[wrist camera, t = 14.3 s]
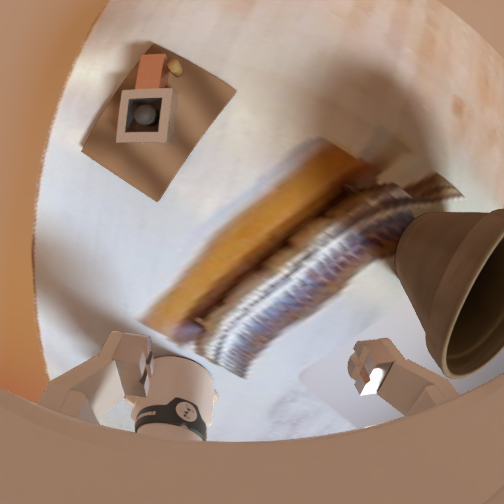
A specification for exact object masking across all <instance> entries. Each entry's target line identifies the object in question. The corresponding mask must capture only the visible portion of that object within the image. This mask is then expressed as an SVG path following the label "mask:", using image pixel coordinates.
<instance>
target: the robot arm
mask: <svg viewBox="0 0 504 504" xmlns="http://www.w3.org/2000/svg"><path fill="white" fill-rule="evenodd" d="M151 346H152V342H151V337H150V336H146V335H139V334H133V333H127V332H120V331H114V330H113V331H112V332H111V333H110V335H109V337H108V338H107V340H106V342H105V344H104V346H103V348H102V350H101V352H100V354H99V356H98V357H95V356H94V357H93V358H91V359H89V360H87V361H86V362H84V363H82V364H80V365H78V366H77V367H75V368H73V369H71V370H69V371H68V372H66V373H64V374H62V375H60V376H59V377H57V378H55V379H53V380H51V381H50V382H49V383H48V385H47V387H46V389H45V390H44V392H43V394H42V396H41V398H40V400H39V402H38V404H36V403H33V402H31V401H29V400H26V399H24V398H22V397H20V396H18V395H15V394H13V393H11V392H9V391H7V390H5V389H3V388H1V387H0V504H504V373H503V374H501V375H499V376H497V377H495V378H494V379H492V380H490V381H488V382H487V383H485V384H483V385H481V386H479V387H477V388H475V389H473V390H471V391H468V392H466V393H464V394H462V395H460V394H459V393H458V392H457V391H456V389H455V388H454V387H453V386H452V384H451V383H450V382H449V380H448V379H446V378H444V377H442V376H440V375H438V374H436V373H434V372H432V371H430V370H428V369H426V368H424V367H422V366H420V365H418V364H416V363H414V362H412V361H411V360H409V359H408V360H406V359H405V358H404V357H403V355H402V354H401V353H400V352H399V350H398V349H397V348H396V346H395V345H394V344H393V343H392V341H391V340H390V339H388V338H381V339H374V340H364V341H357V342H356V344H355V346H354V348H353V349H354V351H355V353H354V354H352V355H351V356H350V358H349V361H348V372H349V375H350V377H351V378H353V379H354V380H356V381H355V384H354V385H355V387H356V389H357V390H358V392H359V394H360V395H366V394H372V393H377V394H378V395H379V396H380V397H381V398H383V399H384V400H385V401H386V402H388V403H389V404H391V405H392V406H393V407H394V408H396V409H397V410H398V411H400V412H401V413H402V414H403V415H405V417H401V418H398V419H395V420H391V421H388V422H384V423H380V424H377V425H373V426H368V427H364V428H360V429H355V430H350V431H345V432H340V433H334V434H328V435H322V436H315V437H307V438H299V439H289V440H277V441H258V442H217V441H206V439H207V431H206V429H207V428H208V427H209V426H211V424H212V416H213V406H214V404H215V403H217V402H218V401H219V395H218V394H217V392H216V391H215V390H214V382H213V379H212V377H211V375H210V374H209V372H208V371H207V370H206V369H205V368H203V367H202V366H201V365H199V364H197V363H195V362H193V361H191V360H188V359H185V358H180V357H172V356H166V357H159V358H155V359H154V357H153V353H152V352H151V351H150V349H151ZM125 395H126V396H125ZM124 396H125V401H126V402H127V403H128V404H129V405H130V406H131V407H133V408H132V412H131V418H132V419H133V420H134V421H135V432H130V431H125V430H120V429H115V428H111V427H107V426H103V425H100V424H99V422H98V420H99V419H100V418H101V417H102V416H103V415H104V414H106V413H107V412H108V411H109V410H110V409H111V408H112V407H113V406H114V405H116V404H117V403H118V402H119V401H120V400H121V399H122V398H123V397H124Z"/></svg>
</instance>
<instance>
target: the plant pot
mask: <svg viewBox="0 0 504 504" xmlns="http://www.w3.org/2000/svg"><path fill="white" fill-rule="evenodd" d="M395 267H396V272H397V275H398V277H399V280H400V282H401V284H402V286H403V288H404V290H405V292H406V294H407V296H408V298H409V300H410V302H411V303H412V306H413V308H414V310H415V312H416V314H417V316H418V318H419V320H420V322H421V325H422V327H423V328H424V331H425V333H426V345H427V348H428V351H429V353H430V354H431V356H432V357H433V359H434V360H435V362H436V363H437V365H438V366H439V367H440V368H441V370H442V372H443V374H444V375H445V376H446V377H448V378H450V379H461V378H465V377H467V376H469V375H472V374H473V373H475V372H477V371H479V370H480V369H482V368H483V367H484V366H486V365H487V364H488V363H489V362H490V361H491V360H493V359H494V358H495V357H496V355H498V354H499V353H500V351H501V350H502V349H503V348H504V209H497V210H494V211H492V212H490V213H480V212H437V213H426V214H423V215H421V216H419V217H417V218H416V219H414V220H413V221H412V222H411V223H410V224H409V225H408V226H407V227H406V229H405V230H404V232H403V234H402V236H401V238H400V240H399V243H398V245H397V250H396V255H395Z"/></svg>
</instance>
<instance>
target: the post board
mask: <svg viewBox="0 0 504 504" xmlns="http://www.w3.org/2000/svg"><path fill="white" fill-rule="evenodd" d="M148 54H166V56H167V58H168V59H169V61H168V63H167V66H168V68H169V69H170V72H169V78H168V84H167V88H173V89H174V90H175V91H176V92H177V94H178V103H177V110H176V119H175V127H174V137H173V143H116V136H117V126H118V117H119V108H120V101H121V94H122V90H133V89H135V86H136V80H137V74H138V69H139V64H140V60H139V62H138V63H137V64H136V66H135V67H134V68H133V69H132V71H131V72H130V73H129V75H128V76H127V78H126V79H125V80H124V82H123V83H122V85H121V86H120V87H119V89H118V90H117V92H116V93H115V95H114V96H113V98H112V99H111V101H110V102H109V104H108V105H107V107H106V109H105V110H104V112H103V113H102V115H101V117H100V118H99V120H98V122H97V124H96V125H95V127H94V129H93V131H92V132H91V134H90V136H89V138H88V140H87V141H86V143H85V145H84V147H83V149H82V151H81V152H83V153H84V154H86V155H87V156H89V157H90V158H92V159H93V160H95V161H96V162H97V163H99V164H100V165H102V166H103V167H105V168H106V169H108V170H109V171H111V172H112V173H114V174H115V175H117V176H118V177H120V178H121V179H123V180H124V181H126V182H127V183H129V184H130V185H132V186H133V187H135V188H136V189H138V190H139V191H141V192H142V193H144V194H145V195H147V196H149V197H150V198H152V199H153V200H155V201H156V202H158V201H159V200H160V199H161V197H162V196H163V194H164V192H165V191H166V189H167V188H168V186H169V184H170V183H171V181H172V180H173V178H174V177H175V175H176V174H177V172H178V171H179V169H180V168H181V166H182V165H183V163H184V162H185V160H186V159H187V157H188V156H189V154H190V153H191V152H192V150H193V149H194V147H195V146H196V145H197V143H198V142H199V140H200V139H201V138H202V136H203V135H204V133H205V132H206V131H207V129H208V128H209V127H210V125H211V124H212V123H213V121H214V120H215V119H216V118H217V116H218V115H219V114H220V112H221V111H222V110H223V109H224V107H225V106H226V105H227V104H228V102H229V101H230V100H231V99H232V97H233V96H234V95H235V94H236V91H237V90H235V89H234V88H232V87H231V86H229V85H228V84H226V83H224V82H223V81H221V80H220V79H218V78H216V77H215V76H213V75H211V74H210V73H208V72H206V71H205V70H203V69H201V68H199V67H198V66H196V65H194V64H192V63H191V62H189V61H187V60H185V59H183V58H181V57H180V56H178V55H176V54H174V53H172V52H170V51H168V50H166V49H164V48H162V47H160V46H158V45H156V44H153V45H152V46H151V47H150V48H149V49H148V51H147V52H146V53H145V54H144V55H148ZM161 104H162V103H155V104H139V107H138V108H137V109H136V111H135V114H134V117H135V120H136V121H137V123H136V132H158V129H159V120H160V112H161Z"/></svg>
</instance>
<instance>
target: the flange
mask: <svg viewBox="0 0 504 504" xmlns="http://www.w3.org/2000/svg"><path fill="white" fill-rule="evenodd" d="M168 61H169V59H168V58H167V56H166V54H148V55H141V59H140V64H139V69H138V74H137V80H136V86H135V89H133V90H122V94H121V101H120V108H119V117H118V126H117V136H116V143H173V137H174V127H175V119H176V110H177V103H178V94H177V92H176V91H175V90H174V89H173V88H167V84H168V78H169V72H170V69H169V68H168V66H167V63H168ZM155 103H162V104H161V112H160V120H159V129H158V132H136V123H137V121H136V120H135V117H134V114H135V111H136V109H137V108H138V107H139V104H155Z"/></svg>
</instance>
